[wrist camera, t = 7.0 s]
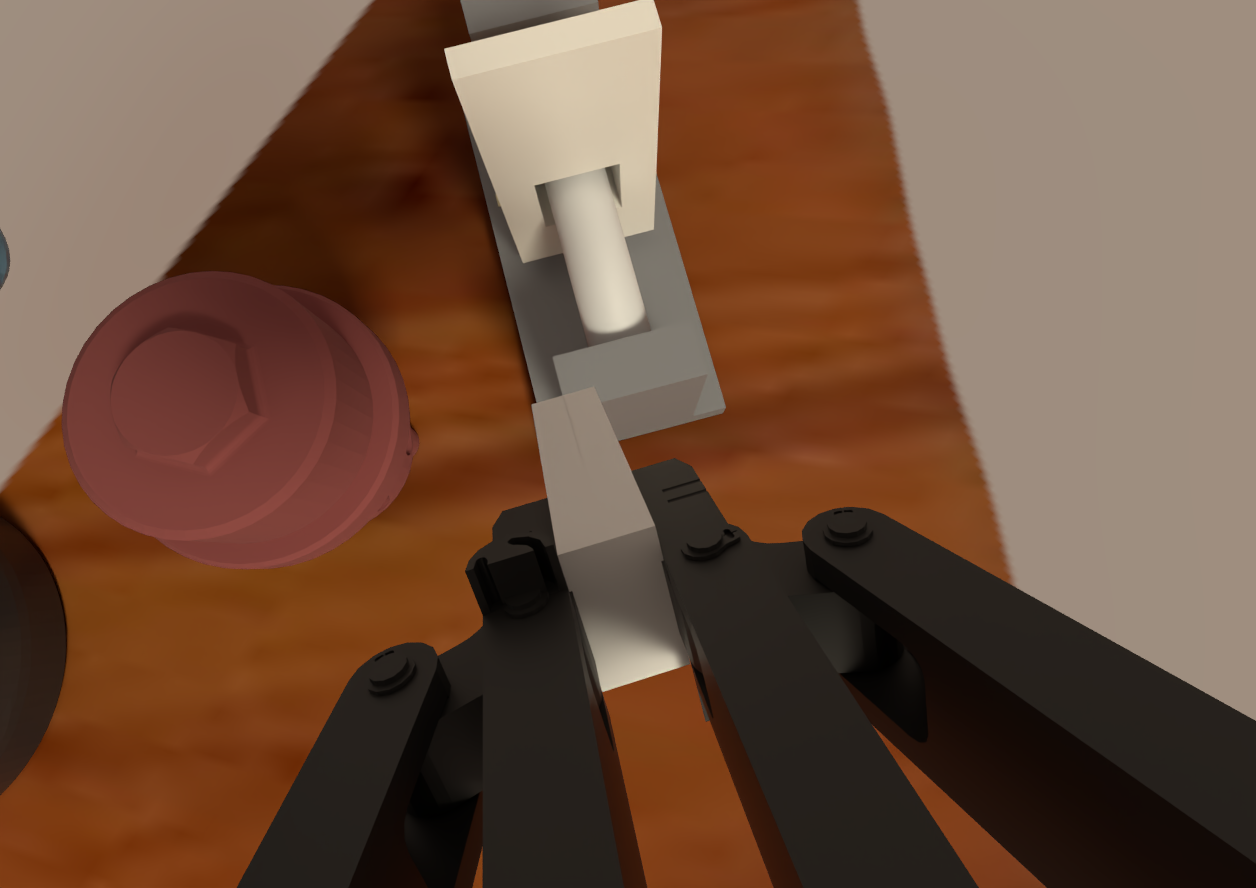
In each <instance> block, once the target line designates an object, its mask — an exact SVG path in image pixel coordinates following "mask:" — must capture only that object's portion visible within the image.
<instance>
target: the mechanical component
mask: <svg viewBox="0 0 1256 888" xmlns="http://www.w3.org/2000/svg"><path fill="white" fill-rule="evenodd" d="M62 431H63V439H64V446H65V450H66V453H67V457H68V460H69V463H70V466H71V468H72V470H73V472H74V474H75V476H76V478H77V480H78V482H79V484H80V486H81V487H82V488H83V490H84V491H85V492H86V494H87V495H88V496H89V498H90V499H91V500H92V501H93V502H94V503H95V504H96V505H97V506H98V507H99V508H100V509H101V510H102V511H103V512H104V513H105V514H107V515H108V516H109V517H111V518H112V519H114V520H116V521H117V522H119V523H120V524H122V525H123V526H125V527H127V528H130V529H132V530H135V531H137V532H139V533H142V534H144V535H148V536H153V537H155V538H156V539H158V540H159V541H160V542H161V543H163V544H164V545H165V546H167V547H168V548H170V549H172V550H173V551H175V552H177V553H179V554H181V555H182V556H184V557H187V558H189V559H192V560H195V561H197V562H200V563H203V564H207V565H212V566H217V567H222V568H233V569H270V568H278V567H285V566H291V565H295V564H298V563H301V562H305V561H308V560H311V559H314V558H316V557H318V556H320V555H322V554H325V553H327V552H329V551H331V550H333V549H334V548H336V547H337V546H339V545H340V544H342V543H343V542H345V541H347V540H348V539H349V538H351V537H352V536H353V535H354V534H355V533H357V532H358V531H359V530H360V529H361V528H362V527H364V526H365V525H366V524H367V522H368V521H370V520H371V519H373V518H375V517H376V516H378V515H379V514H380V513H381V512H382V511H384V510H385V509H386V508H387V507H388V506H389V505H390V504H391V503H392V502H393V500H394V499H395V498H396V497H397V496H398V494H399V492H400V491H401V489H402V487H403V486H404V484H405V482H406V479H407V477H408V474H409V472H410V468H411V464H412V459H413V456H414V455H415V454H416V452H417V450H418V447H419V438H418V435H417V433H416V432H415V431H414V430H413V429H412V428H411V426H410V412H409V403H408V396H407V392H406V388H405V385H404V381H403V378H402V376H401V373H400V371H399V369H398V366H397V364H396V362H395V360H394V359H393V357H392V356H391V354H390V352H389V351H388V349H387V348H386V346H385V345H384V344H383V343H382V342H381V340H380V339H379V338H378V337H377V336H376V335H375V333H374V332H372V331H371V330H370V329H369V328H368V327H367V326H366V325H365V324H363V323H362V322H361V321H360V320H359V319H358V318H357V317H356V316H354V315H353V314H352V313H350V312H349V311H347V310H346V309H345V308H343V307H342V306H340V305H339V304H337V303H335V302H333V301H331V300H329V299H328V298H326V297H324V296H322V295H319V294H316V293H313V292H310V291H307V290H304V289H299V288H293V287H288V286H278V285H272V284H270V283H267V282H265V281H262V280H259V279H257V278H254V277H252V276H247V275H243V274H238V273H233V272H220V271H205V272H195V273H188V274H184V275H179V276H175V277H171V278H168V279H165V280H163V281H160V282H158V283H156V284H153V285H151V286H148V287H147V288H145V289H143V290H142V291H140V292H138V293H136V294H135V295H133V296H131V297H129V298H128V299H127V300H126V301H124V302H123V303H122V304H120V305H119V306H118V307H117V308H115V309H114V310H113V311H112V312H111V313H110V314H109V315H108V316H107V317H106V318H105V319H104V320H103V321H102V322H101V323H100V324H99V325H98V326H97V327H96V329H95V330H94V332H93V333H92V334H91V336H90V337H89V338H88V340H87V341H86V342H85V344H84V346H83V347H82V349H81V351H80V353H79V355H78V357H77V359H76V361H75V363H74V365H73V368H72V370H71V373H70V376H69V379H68V382H67V385H66V390H65V395H64V400H63V408H62Z"/></svg>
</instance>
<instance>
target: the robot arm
mask: <svg viewBox="0 0 1256 888" xmlns="http://www.w3.org/2000/svg"><path fill="white" fill-rule="evenodd" d="M9 266H10V254H9V248H8V245H7V242H6V240H5V237H4V235H3V233H2V231H1V229H0V289H1V288H2V286H3V284H4V282H5V280H6V278H7V276H8V272H9ZM531 405H532V411H533V417H534V422H535V428H536V434H537V440H538V446H539V451H540V457H541V463H542V469H543V475H544V480H545V486H546V492H547V498H546V499H542V500H539V501H536V502H532V503H529V504H525V505H522V506H519V507H515V508H512V509H509V510H505V511H502V513H501V515H500V516H499V518H498V519H497V521H496V523H495V524H494V526H493V527H492V530H493V541H492V542H491V543H489V544H488V545H486V546H484V547H483V548H481V549H480V550H478V551H477V553H476V554H475V555H474V556H473V557H472V558H471V559H470V560H469V562H468V565H467V568H466V570H465V572H466V574H467V577H468V579H469V582H470V584H471V587H472V589H473V592H474V594H475V597H476V599H477V602H478V604H479V607H480V609H481V612H482V614H483V626H482V627H481V629H480V630H478V631H477V632H476V633H475V634H474V635H473V636H471V637H470V638H469V639H467V640H465V641H464V642H462V643H461V644H459V645H457V646H456V647H454V648H452V649H450V650H448V651H446V652H445V653H443V654H441V655H439V656H437V654H436V652H435V650H434V648H433V647H431V646H429V645H427V644H424V643H404V644H401V645H397V646H394V647H390V648H388V649H386V650H384V651H383V652H380V653H378V654H377V655H375V656H373V657H372V658H371V659H369V660H368V661H367V662H366V663H364V664H363V665H362V666H361V667H360V668H358V670H357V671H356V672H355V674H354V675H353V676H352V678H351V679H350V680H349V682H348V683H347V685H346V687H345V689H344V691H343V693H342V694H341V696H340V698H339V700H338V702H337V704H336V706H335V707H334V709H333V711H332V713H331V715H330V717H329V718H328V720H327V722H326V724H325V726H324V728H323V730H322V731H321V733H320V735H319V737H318V739H317V741H316V742H315V744H314V746H313V748H312V750H311V752H310V754H309V755H308V757H307V759H306V761H305V763H304V765H303V766H302V768H301V770H300V772H299V774H298V776H297V778H296V779H295V781H294V783H293V785H292V787H291V789H290V790H289V792H288V794H287V796H286V798H285V800H284V802H283V803H282V805H281V807H280V809H279V811H278V813H277V814H276V816H275V818H274V820H273V822H272V824H271V826H270V827H269V829H268V831H267V833H266V835H265V837H264V838H263V840H262V842H261V844H260V846H259V848H258V850H257V851H256V853H255V855H254V857H253V859H252V861H251V862H250V864H249V866H248V868H247V870H246V872H245V874H244V875H243V877H242V879H241V881H240V883H239V885H238V886H237V888H472V887H473V882H474V878H475V874H476V870H477V866H478V862H479V858H480V854H481V850H482V846H483V888H647V884H646V880H645V875H644V871H643V866H642V862H641V857H640V853H639V848H638V843H637V839H636V834H635V830H634V825H633V821H632V816H631V811H630V807H629V802H628V798H627V793H626V789H625V784H624V779H623V775H622V770H621V766H620V761H619V757H618V752H617V748H616V743H615V738H614V734H613V729H612V725H611V720H610V716H609V712H608V709H607V706H606V703H605V700H604V697H603V694H602V692H604V691H607V690H610V689H613V688H616V687H619V686H622V685H626V684H629V683H632V682H635V681H638V680H641V679H644V678H648V677H651V676H654V675H657V674H660V673H663V672H666V671H670V670H673V669H676V668H679V667H682V666H685V665H688V664H690V662H689V659H690V661H691V665H692V669H693V673H694V677H695V681H696V685H697V689H698V693H699V697H700V701H701V705H702V709H703V713H704V717H705V721H709V720H710V722H711V725H712V727H713V730H714V732H715V735H716V738H717V740H718V743H719V746H720V748H721V751H722V753H723V756H724V759H725V761H726V764H727V766H728V769H729V772H730V774H731V777H732V780H733V782H734V785H735V787H736V790H737V793H738V795H739V798H740V801H741V803H742V806H743V808H744V811H745V814H746V816H747V819H748V821H749V824H750V827H751V829H752V832H753V835H754V837H755V840H756V842H757V845H758V848H759V850H760V853H761V855H762V858H763V861H764V863H765V866H766V869H767V871H768V874H769V876H770V879H771V882H772V884H773V887H774V888H979V887H978V886H977V884H976V883H975V881H974V880H973V878H972V877H971V875H970V874H969V872H968V871H967V869H966V868H965V866H964V864H963V863H962V861H961V860H960V858H959V857H958V855H957V854H956V852H955V851H954V849H953V848H952V846H951V845H950V843H949V842H948V840H947V839H946V837H945V836H944V834H943V832H942V831H941V829H940V828H939V826H938V825H937V823H936V822H935V820H934V819H933V817H932V816H931V814H930V813H929V811H928V810H927V808H926V807H925V805H924V804H923V802H922V800H921V799H920V797H919V796H918V794H917V793H916V791H915V790H914V788H913V787H912V785H911V784H910V782H909V781H908V779H907V778H906V776H905V775H904V773H903V771H902V770H901V768H900V767H899V765H898V764H897V762H896V761H895V759H894V758H893V756H892V755H891V753H890V752H889V750H888V749H887V747H886V746H885V744H884V743H883V741H882V739H881V738H880V736H879V735H878V733H877V732H876V730H875V729H874V727H875V728H876V729H877V730H878V731H879V732H881V733H882V734H883V735H884V736H885V737H886V738H887V739H888V740H889V741H890V742H891V743H892V744H893V745H894V746H896V747H897V748H898V749H899V750H900V751H901V752H902V753H903V754H904V755H905V756H906V757H907V758H908V759H909V760H911V761H912V762H913V763H914V764H915V765H916V766H917V767H918V768H919V769H920V770H921V771H922V772H923V773H924V774H926V775H927V776H928V777H929V778H930V779H931V780H932V781H933V782H934V783H935V784H936V785H937V786H938V787H940V788H941V789H942V790H943V791H944V792H945V793H946V794H947V795H948V796H949V797H950V798H951V799H952V800H953V801H955V802H956V803H957V804H958V805H959V806H960V807H961V808H962V809H963V810H964V811H965V812H966V813H967V814H968V815H970V816H971V817H972V818H973V819H974V820H975V821H976V822H977V823H978V824H979V825H980V826H981V827H982V828H983V829H985V830H986V831H987V832H988V833H989V834H990V835H991V836H992V837H993V838H994V839H995V840H996V841H997V842H998V843H1000V844H1001V845H1002V846H1003V847H1004V848H1005V849H1006V850H1007V851H1008V852H1009V853H1010V854H1011V855H1012V856H1013V857H1015V858H1016V859H1017V860H1018V861H1019V862H1020V863H1021V864H1022V865H1023V866H1024V867H1025V868H1026V869H1027V870H1029V871H1030V872H1031V873H1032V874H1033V875H1034V876H1035V877H1036V878H1037V879H1038V880H1039V881H1040V882H1041V883H1042V884H1044V885H1045V886H1046V887H1047V888H1256V721H1255V720H1253V719H1251V718H1250V717H1247V716H1246V715H1244V714H1242V713H1240V712H1239V711H1237V710H1235V709H1233V708H1232V707H1230V706H1228V705H1226V704H1224V703H1223V702H1221V701H1219V700H1217V699H1215V698H1214V697H1212V696H1210V695H1208V694H1206V693H1205V692H1203V691H1201V690H1199V689H1197V688H1196V687H1194V686H1192V685H1190V684H1188V683H1187V682H1185V681H1183V680H1181V679H1179V678H1178V677H1176V676H1174V675H1172V674H1170V673H1168V672H1167V671H1165V670H1163V669H1161V668H1159V667H1158V666H1156V665H1154V664H1152V663H1151V662H1149V661H1147V660H1145V659H1143V658H1141V657H1140V656H1138V655H1136V654H1134V653H1132V652H1131V651H1129V650H1127V649H1125V648H1124V647H1122V646H1120V645H1118V644H1116V643H1115V642H1112V641H1111V640H1109V639H1107V638H1106V637H1104V636H1102V635H1100V634H1098V633H1097V632H1094V631H1093V630H1091V629H1089V628H1088V627H1086V626H1084V625H1082V624H1080V623H1079V622H1077V621H1075V620H1073V619H1071V618H1070V617H1068V616H1066V615H1064V614H1062V613H1060V612H1059V611H1057V610H1055V609H1053V608H1052V607H1050V606H1048V605H1046V604H1044V603H1042V602H1041V601H1039V600H1037V599H1035V598H1034V597H1031V596H1030V595H1028V594H1026V593H1024V592H1023V591H1021V590H1019V589H1017V588H1016V587H1014V586H1012V585H1010V584H1008V583H1007V582H1005V581H1003V580H1001V579H999V578H998V577H996V576H994V575H992V574H990V573H989V572H987V571H985V570H983V569H981V568H980V567H978V566H976V565H974V564H972V563H971V562H969V561H967V560H965V559H963V558H962V557H960V556H958V555H956V554H954V553H953V552H951V551H949V550H947V549H945V548H944V547H942V546H940V545H938V544H936V543H935V542H933V541H931V540H929V539H927V538H926V537H924V536H922V535H920V534H918V533H917V532H915V531H913V530H911V529H909V528H908V527H906V526H904V525H902V524H900V523H899V522H897V521H895V520H893V519H891V518H890V517H888V516H886V515H884V514H882V513H879V512H876V511H874V510H871V509H866V508H857V507H843V508H837V509H832V510H829V511H826V512H823V513H820V514H818V515H817V516H815V517H814V518H812V519H811V520H809V521H808V522H807V524H806V525H805V527H804V529H803V530H802V537H803V541H799V542H788V543H770V544H767V543H759V542H753V541H751V540H750V538H749V537H748V535H747V534H746V533H745V532H744V531H743V530H741V529H740V528H739V527H737V526H734V525H731V524H728V523H727V522H726V520H725V518H724V517H723V515H722V514H721V512H720V511H719V509H718V507H717V506H716V504H715V503H714V501H713V499H712V498H711V496H710V495H709V493H708V492H707V491H706V488H705V487H704V485H703V484H702V482H701V481H700V479H699V477H698V476H697V474H696V473H695V471H694V469H693V468H692V466H690V465H688V464H686V463H684V462H681V461H679V460H677V459H675V458H674V459H671V460H667V461H664V462H661V463H657V464H654V465H651V466H647V467H644V468H640V469H637V470H634V471H631V470H630V467H629V465H628V463H627V460H626V458H625V456H624V454H623V451H622V449H621V447H620V445H619V442H618V440H617V438H616V435H615V433H614V431H613V429H612V426H611V424H610V422H609V420H608V417H607V415H606V413H605V410H604V408H603V406H602V404H601V401H600V399H599V397H598V394H597V392H596V390H595V388H594V387H591V388H587V389H584V390H580V391H577V392H573V393H570V394H566V395H563V396H559V397H556V398H552V399H549V400H545V401H542V402H538V403H535V404H531ZM687 653H688V654H687ZM65 656H66V632H65V621H64V615H63V609H62V605H61V601H60V597H59V594H58V591H57V588H56V585H55V583H54V581H53V578H52V576H51V574H50V572H49V570H48V568H47V566H46V564H45V562H44V561H43V559H42V558H41V556H40V555H39V553H38V552H37V551H36V549H35V548H34V547H33V545H32V544H31V543H30V542H29V541H28V540H27V539H26V537H25V536H24V535H23V534H22V533H20V532H19V531H18V530H17V529H16V528H15V527H14V526H12V525H11V524H10V523H9V522H7V521H6V520H4V519H3V518H1V517H0V795H1V794H2V793H3V792H4V791H5V790H6V789H7V788H8V787H9V785H10V784H11V783H12V782H13V781H14V780H15V779H16V777H17V776H18V775H19V774H20V772H21V771H22V770H23V768H24V767H25V766H26V764H27V763H28V761H29V760H30V758H31V757H32V755H33V754H34V752H35V750H36V749H37V747H38V745H39V743H40V742H41V740H42V738H43V736H44V734H45V732H46V730H47V727H48V725H49V723H50V720H51V718H52V716H53V713H54V710H55V707H56V704H57V701H58V697H59V693H60V690H61V685H62V680H63V675H64V667H65ZM688 656H689V658H688ZM601 689H602V691H601ZM872 725H873V726H874V727H873V726H872Z"/></svg>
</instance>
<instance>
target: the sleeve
mask: <svg viewBox="0 0 1256 888" xmlns="http://www.w3.org/2000/svg"><path fill="white" fill-rule="evenodd" d="M661 39H662V26H661V23H660V20H659V16H658V13H657V10H656V7H655V4H654V0H639V1H635V2H630V3H626V4H622V5H618V6H614V7H610V8H606V9H602V10H598V11H594V12H590V13H586V14H582V15H578V16H574V17H570V18H566V19H562V20H558V21H554V22H550V23H546V24H542V25H538V26H534V27H530V28H526V29H522V30H518V31H514V32H510V33H506V34H502V35H498V36H494V37H490V38H486V39H482V40H478V41H474V42H470V43H466V44H462V45H458V46H454V47H450V48H445V49H444V51H445V55H446V59H447V63H448V67H449V71H450V75H451V79H452V82H453V84H454V87H455V90H456V92H457V95H458V97H459V100H460V102H461V105H462V108H463V110H464V113H465V115H466V118H467V120H468V123H469V126H470V128H471V131H472V133H473V136H474V138H475V141H476V144H477V146H478V149H479V151H480V154H481V156H482V159H483V162H484V164H485V167H486V169H487V172H488V174H489V177H490V180H491V182H492V185H493V187H494V190H495V192H496V195H497V198H498V200H499V203H500V205H501V208H502V210H503V213H504V216H505V218H506V221H507V223H508V226H509V228H510V231H511V234H512V236H513V239H514V241H515V244H516V246H517V249H518V252H519V254H520V257H521V259H522V262H523V263H526V262H530V261H534V260H538V259H542V258H545V257H549V256H553V255H557V254H561V253H563V250H562V247H561V243H560V239H559V235H558V232H557V228H556V224H555V220H554V217H553V213H552V209H551V205H550V202H549V198H548V194H547V190H546V187H545V183H546V182H550V181H554V180H558V179H562V178H566V177H570V176H574V175H578V174H582V173H585V172H589V171H593V170H597V169H601V168H605V170H606V174H607V177H608V181H609V184H610V188H611V191H612V195H613V198H614V202H615V206H616V209H617V213H618V216H619V220H620V223H621V227H622V230H623V234H624V237H627V236H631V235H635V234H638V233H642V232H646V231H650V230H654V212H655V187H656V163H657V138H658V113H659V89H660V64H661Z"/></svg>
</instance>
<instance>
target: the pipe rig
mask: <svg viewBox="0 0 1256 888" xmlns="http://www.w3.org/2000/svg"><path fill="white" fill-rule="evenodd" d="M461 4H462V8H463V12H464V16H465V20H466V24H467V27H468V31H469V35H470V38H471V41H472V42H474V41H478V40H482V39H486V38H490V37H494V36H498V35H502V34H506V33H510V32H514V31H518V30H522V29H526V28H530V27H534V26H538V25H542V24H546V23H550V22H554V21H558V20H562V19H566V18H570V17H574V16H578V15H582V14H586V13H590V12H594V11H598V10H599V8H598V0H461ZM464 115H465V113H464ZM465 119H466V123H467V127H468V131H469V135H470V139H471V143H472V147H473V151H474V155H475V159H476V163H477V167H478V171H479V175H480V179H481V183H482V187H483V191H484V195H485V199H486V203H487V207H488V211H489V215H490V219H491V223H492V227H493V231H494V235H495V239H496V243H497V247H498V251H499V255H500V259H501V263H502V267H503V271H504V275H505V279H506V283H507V287H508V291H509V294H510V298H511V302H512V306H513V310H514V314H515V318H516V322H517V326H518V330H519V334H520V338H521V342H522V346H523V350H524V354H525V358H526V362H527V366H528V370H529V374H530V378H531V382H532V386H533V390H534V394H535V398H536V402H537V403H538V402H542V401H545V400H549V399H552V398H556V397H559V396H563V395H566V394H570V393H573V392H577V391H580V390H584V389H587V388H591V387H594V388H595V390H596V392H597V394H598V397H599V399H600V401H601V404H602V406H603V408H604V410H605V413H606V415H607V417H608V420H609V422H610V424H611V426H612V429H613V431H614V433H615V435H616V438H617V440H618V441H620V440H623V439H627V438H631V437H635V436H638V435H642V434H646V433H650V432H654V431H657V430H661V429H665V428H669V427H672V426H676V425H680V424H684V423H687V422H691V421H695V420H699V419H702V418H706V417H710V416H714V415H718V414H721V413H723V412H724V410H725V408H726V406H725V403H724V399H723V396H722V393H721V389H720V386H719V383H718V379H717V376H716V372H715V369H714V366H713V362H712V359H711V356H710V352H709V349H708V346H707V342H706V339H705V335H704V332H703V329H702V325H701V322H700V319H699V315H698V312H697V309H696V305H695V302H694V299H693V295H692V292H691V288H690V285H689V282H688V278H687V275H686V272H685V268H684V265H683V262H682V258H681V255H680V251H679V248H678V245H677V241H676V238H675V235H674V231H673V228H672V225H671V221H670V218H669V214H668V211H667V208H666V204H665V201H664V198H663V194H662V191H661V188H660V184H659V181H658V177H657V174H656V187H655V212H654V230H650V231H646V232H642V233H638V234H635V235H631V236H627V237H624V234H623V230H622V227H621V223H620V220H619V216H618V213H617V209H616V206H615V202H614V198H613V195H612V191H611V188H610V184H609V181H608V177H607V174H606V170H605V168H601V169H597V170H593V171H589V172H585V173H582V174H578V175H574V176H570V177H566V178H562V179H558V180H554V181H550V182H546V183H545V187H546V190H547V194H548V198H549V202H550V205H551V209H552V213H553V217H554V220H555V224H556V228H557V232H558V235H559V239H560V243H561V247H562V250H563V253H561V254H557V255H553V256H549V257H545V258H542V259H538V260H534V261H530V262H526V263H523V262H522V259H521V257H520V254H519V252H518V249H517V246H516V244H515V241H514V239H513V236H512V234H511V231H510V228H509V226H508V223H507V221H506V218H505V216H504V213H503V210H502V208H501V205H500V203H499V200H498V198H497V195H496V192H495V190H494V187H493V185H492V182H491V180H490V177H489V174H488V172H487V169H486V167H485V164H484V162H483V159H482V156H481V154H480V151H479V149H478V146H477V144H476V141H475V138H474V136H473V133H472V131H471V128H470V126H469V123H468V120H467V118H466V115H465Z"/></svg>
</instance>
